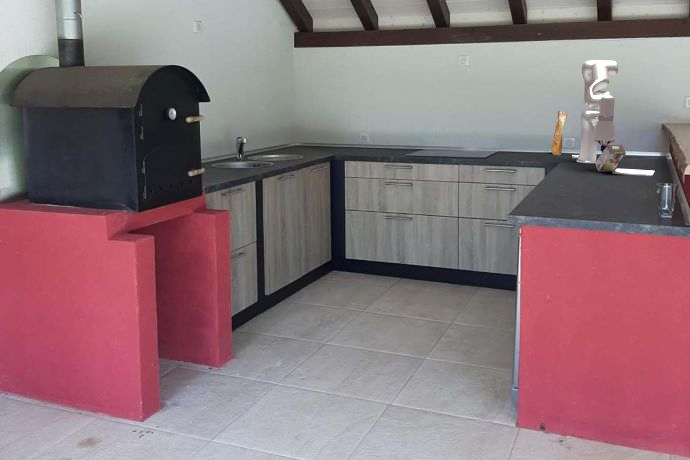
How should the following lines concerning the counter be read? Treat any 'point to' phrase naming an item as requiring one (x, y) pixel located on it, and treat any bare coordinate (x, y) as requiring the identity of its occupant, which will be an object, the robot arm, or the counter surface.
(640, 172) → the mat
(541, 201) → the counter surface
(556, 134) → the pancake mix bag
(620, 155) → the coffee box
